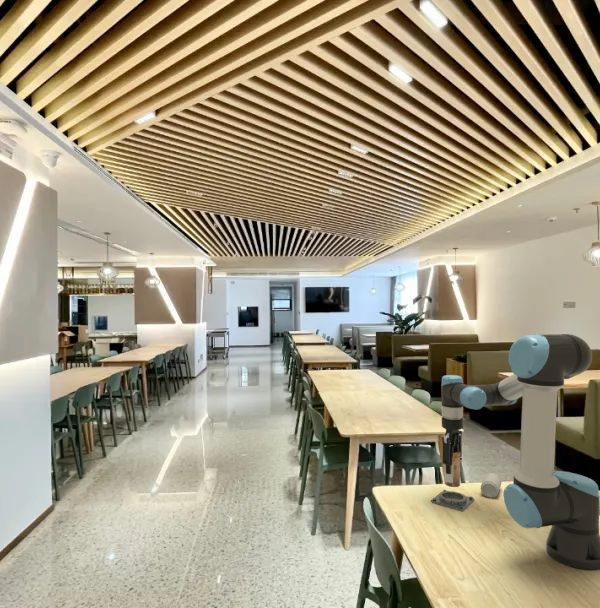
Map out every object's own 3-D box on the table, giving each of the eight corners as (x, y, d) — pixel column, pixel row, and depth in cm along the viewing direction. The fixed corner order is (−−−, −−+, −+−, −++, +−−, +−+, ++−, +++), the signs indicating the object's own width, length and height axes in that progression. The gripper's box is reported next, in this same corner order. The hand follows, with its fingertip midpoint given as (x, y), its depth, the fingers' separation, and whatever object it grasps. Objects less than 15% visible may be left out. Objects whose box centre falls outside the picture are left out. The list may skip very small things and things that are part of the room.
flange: (474, 500, 173) (474, 495, 173) (462, 511, 163) (462, 505, 164) (443, 492, 180) (443, 487, 180) (430, 502, 171) (430, 497, 171)
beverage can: (478, 494, 176) (482, 484, 187) (496, 501, 173) (499, 490, 184) (482, 478, 176) (486, 469, 186) (500, 485, 173) (503, 475, 183)
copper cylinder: (462, 483, 173) (462, 451, 173) (457, 488, 168) (456, 455, 168) (447, 480, 176) (447, 448, 176) (441, 484, 172) (441, 452, 172)
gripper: (451, 411, 182) (452, 470, 182) (432, 420, 168) (432, 484, 167) (471, 414, 177) (471, 475, 177) (452, 423, 163) (452, 489, 163)
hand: (452, 479), depth 172 cm, fingers closed on copper cylinder, 5 cm apart
